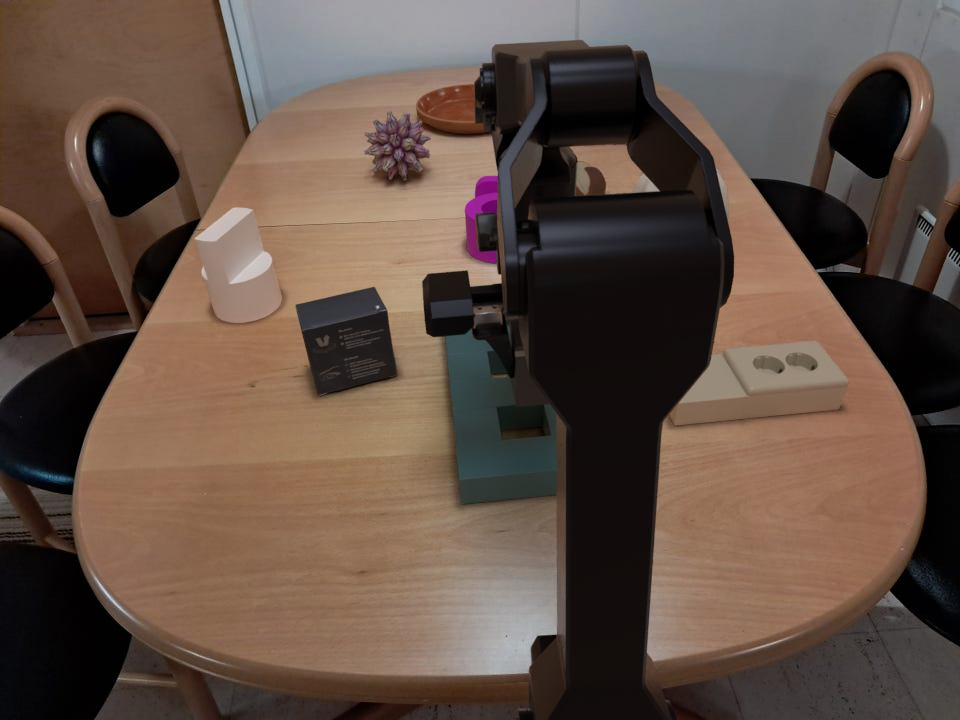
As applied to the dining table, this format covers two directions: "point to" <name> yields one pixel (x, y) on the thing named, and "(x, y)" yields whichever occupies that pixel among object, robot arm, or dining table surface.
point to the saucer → (450, 109)
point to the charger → (522, 373)
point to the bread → (589, 180)
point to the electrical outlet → (763, 384)
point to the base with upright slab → (238, 268)
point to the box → (347, 340)
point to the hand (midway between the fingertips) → (535, 373)
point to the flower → (397, 145)
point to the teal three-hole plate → (496, 428)
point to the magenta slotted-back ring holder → (481, 204)
